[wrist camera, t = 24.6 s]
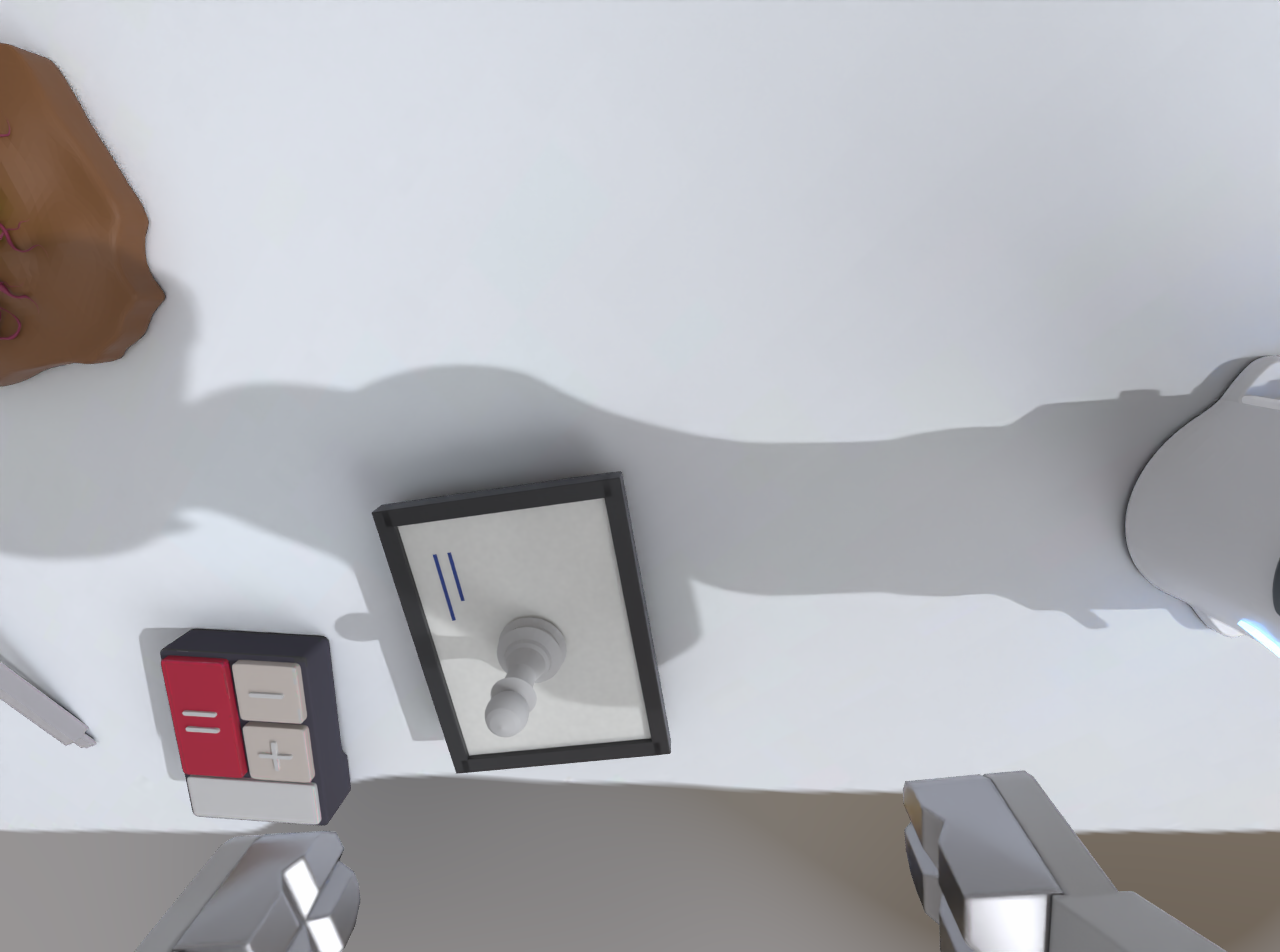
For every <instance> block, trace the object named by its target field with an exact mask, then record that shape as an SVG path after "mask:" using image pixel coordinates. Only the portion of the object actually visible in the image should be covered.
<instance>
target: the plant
mask: <svg viewBox="0 0 1280 952" xmlns="http://www.w3.org/2000/svg"><path fill="white" fill-rule="evenodd" d="M148 224H149V222H148V218H147V215H146V213H145V210H144V208H143V206H142V204H141V202H140V200H139V199H138V197H137V196H136V194H135V193H134V191H133V190H132V188H131V187H130V186H129V184H128V183H127V181H126V179H125V177H124V176H123V174H122V172H121V170H120V169H119V167H118V166H117V164H116V163H115V161H114V160H113V158H112V156H111V155H110V153H109V151H108V150H107V148H106V147H105V145H104V144H103V143H102V141H101V139H100V138H99V136H98V134H97V133H96V131H95V130H94V128H93V126H92V125H91V123H90V122H89V120H88V118H87V116H86V114H85V112H84V110H83V109H82V107H81V105H80V103H79V102H78V100H77V98H76V96H75V94H74V93H73V92H72V90H71V88H70V86H69V85H68V83H67V81H66V80H65V78H64V76H63V75H62V73H61V72H60V70H59V69H58V68H57V67H56V65H55V64H54V63H53V62H52V61H50V60H49V59H47V58H45V57H42V56H40V55H37V54H34V53H31V52H28V51H26V50H23V49H20V48H17V47H15V46H12V45H9V44H3V43H0V387H1V386H7V385H11V384H15V383H19V382H21V381H24V380H26V379H29V378H31V377H33V376H34V375H36V374H38V373H40V372H42V371H44V370H46V369H49V368H52V367H57V366H61V365H66V364H71V363H83V364H96V363H103V362H110V361H114V360H117V359H120V358H121V357H122V356H123V355H124V353H125V351H126V350H127V348H129V347H130V346H131V345H133V344H134V343H136V342H137V341H138V340H139V339H140V338H141V337H142V336H143V335H144V334H145V332H146V330H147V328H148V325H149V322H150V320H151V317H152V315H153V313H154V312H155V310H156V309H157V308H158V306H159V305H160V304H161V303H162V302H163V301H164V299H165V294H164V292H163V291H162V289H161V288H160V286H159V285H158V284H157V282H156V281H155V280H154V278H153V276H152V274H151V272H150V270H149V267H148V264H147V260H146V254H145V236H146V233H147V229H148Z"/></svg>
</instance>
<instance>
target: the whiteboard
mask: <svg viewBox="0 0 1280 952" xmlns="http://www.w3.org/2000/svg"><path fill="white" fill-rule="evenodd" d="M372 515H373V518H374V521H375V524H376V527H377V530H378V533H379V537H380V540H381V543H382V546H383V549H384V552H385V555H386V558H387V561H388V564H389V567H390V570H391V573H392V577H393V580H394V583H395V586H396V589H397V592H398V595H399V598H400V601H401V604H402V607H403V610H404V613H405V617H406V620H407V623H408V626H409V629H410V632H411V635H412V638H413V641H414V644H415V647H416V650H417V653H418V657H419V660H420V663H421V666H422V669H423V672H424V675H425V678H426V681H427V684H428V687H429V690H430V693H431V697H432V700H433V703H434V706H435V709H436V712H437V715H438V718H439V721H440V724H441V727H442V730H443V733H444V737H445V740H446V743H447V746H448V749H449V752H450V755H451V758H452V761H453V764H454V767H455V770H456V773H468V772H479V771H490V770H500V769H511V768H522V767H533V766H544V765H555V764H566V763H577V762H588V761H598V760H609V759H620V758H631V757H642V756H653V755H662V754H670V753H671V738H670V733H669V727H668V722H667V717H666V711H665V706H664V700H663V695H662V689H661V684H660V678H659V673H658V667H657V662H656V656H655V651H654V645H653V640H652V634H651V629H650V623H649V618H648V613H647V607H646V602H645V596H644V591H643V585H642V580H641V574H640V569H639V563H638V558H637V552H636V547H635V541H634V536H633V530H632V525H631V519H630V514H629V509H628V503H627V498H626V492H625V487H624V481H623V476H622V472H621V471H618V472H611V473H604V474H597V475H590V476H583V477H576V478H569V479H562V480H555V481H548V482H541V483H534V484H526V485H519V486H512V487H505V488H498V489H491V490H484V491H477V492H470V493H463V494H456V495H449V496H442V497H435V498H428V499H421V500H414V501H407V502H400V503H392V504H385V505H381V506H380V507H379V508H377V509H376V510H375V511H373V512H372ZM526 617H531V618H539V619H542V620H545V621H547V622H549V623H551V624H552V625H554V626H555V627H556V628H557V629H558V630H559V631H560V632H561V634H562V635H563V637H564V639H565V642H566V647H567V653H566V657H565V660H564V662H563V663H562V665H561V666H560V668H559V670H558V672H557V673H556V674H555V675H554V676H553V677H552V678H550V679H548V680H547V681H544V682H541V683H534V686H533V689H534V691H535V693H536V697H537V701H536V705H535V707H534V708H533V710H532V711H531V712H529V718H528V721H527V724H526V726H525V727H524V728H523V729H522V730H521V731H520V732H519V733H517V734H516V735H514V736H511V737H500V736H497V735H495V734H493V733H492V732H491V731H490V730H489V729H488V727H487V724H486V722H485V710H486V707H487V705H488V703H489V701H490V700H491V696H490V693H491V689H492V687H493V685H494V684H495V683H496V682H497V681H499V680H501V679H504V678H505V677H506V675H507V673H506V672H505V671H504V670H503V669H502V667H501V666H500V664H499V661H498V658H497V647H498V643H499V637H500V634H501V632H502V631H503V629H504V628H505V627H506V626H507V625H508V624H509V623H511V622H513V621H515V620H517V619H520V618H526Z"/></svg>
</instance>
